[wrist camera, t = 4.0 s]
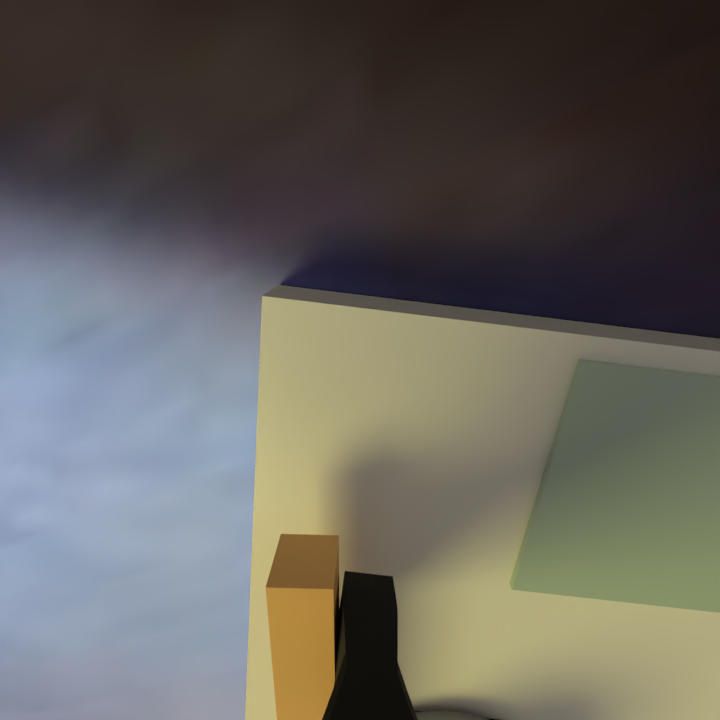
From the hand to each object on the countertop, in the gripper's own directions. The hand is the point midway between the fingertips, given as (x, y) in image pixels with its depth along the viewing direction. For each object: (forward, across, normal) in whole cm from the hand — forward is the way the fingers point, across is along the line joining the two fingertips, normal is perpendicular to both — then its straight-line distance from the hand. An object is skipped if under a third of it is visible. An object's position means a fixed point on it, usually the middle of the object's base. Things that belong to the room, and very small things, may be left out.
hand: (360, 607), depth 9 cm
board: (+3, -4, +4) cm, 7 cm away
